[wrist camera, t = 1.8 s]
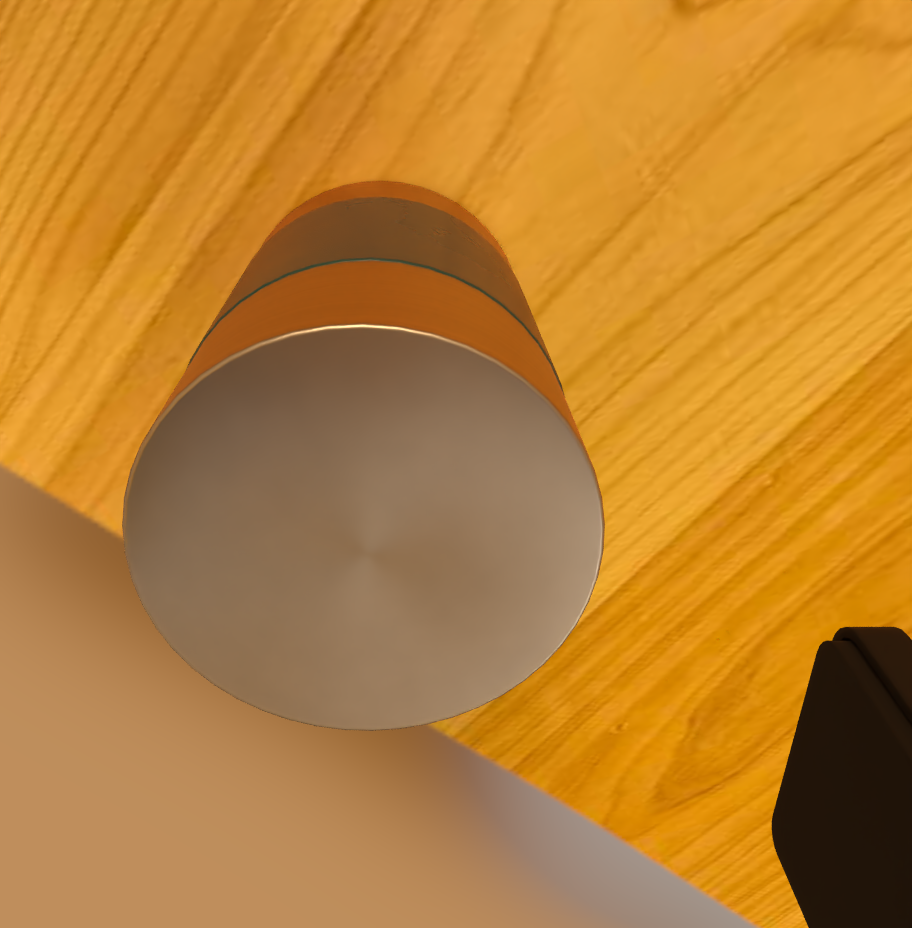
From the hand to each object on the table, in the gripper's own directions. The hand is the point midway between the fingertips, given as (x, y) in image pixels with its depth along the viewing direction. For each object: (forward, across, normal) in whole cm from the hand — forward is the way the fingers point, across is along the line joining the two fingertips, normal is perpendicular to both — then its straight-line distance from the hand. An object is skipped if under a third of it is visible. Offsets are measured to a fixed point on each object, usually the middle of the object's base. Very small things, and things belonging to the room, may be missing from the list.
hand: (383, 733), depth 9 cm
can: (+13, 0, 0) cm, 13 cm away
